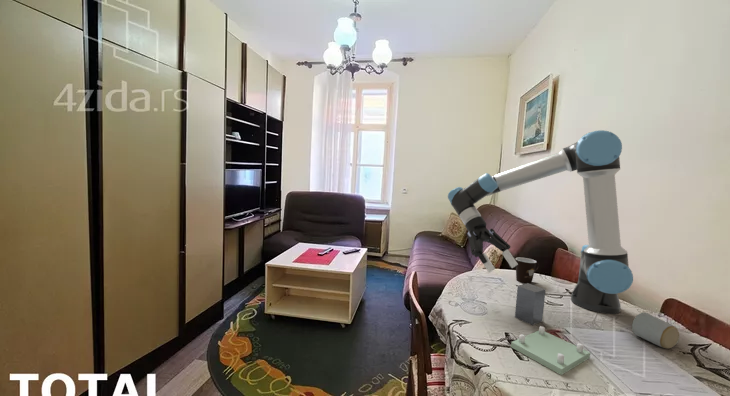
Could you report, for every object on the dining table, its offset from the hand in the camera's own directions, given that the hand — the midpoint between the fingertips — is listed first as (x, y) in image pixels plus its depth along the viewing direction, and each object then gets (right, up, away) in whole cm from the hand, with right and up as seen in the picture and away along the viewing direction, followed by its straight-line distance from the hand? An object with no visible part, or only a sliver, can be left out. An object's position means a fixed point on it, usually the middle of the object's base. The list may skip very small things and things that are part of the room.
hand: (503, 268), depth 108 cm
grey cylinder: (+38, -18, -18) cm, 45 cm away
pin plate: (0, -17, -27) cm, 32 cm away
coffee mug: (+25, -13, +30) cm, 42 cm away
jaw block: (+5, -15, -8) cm, 18 cm away
